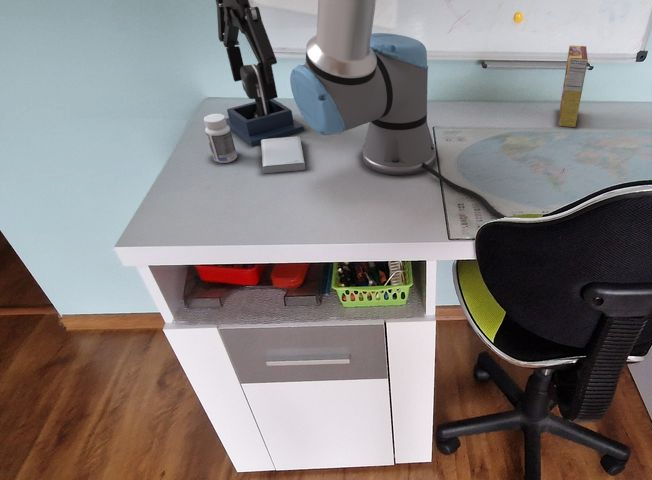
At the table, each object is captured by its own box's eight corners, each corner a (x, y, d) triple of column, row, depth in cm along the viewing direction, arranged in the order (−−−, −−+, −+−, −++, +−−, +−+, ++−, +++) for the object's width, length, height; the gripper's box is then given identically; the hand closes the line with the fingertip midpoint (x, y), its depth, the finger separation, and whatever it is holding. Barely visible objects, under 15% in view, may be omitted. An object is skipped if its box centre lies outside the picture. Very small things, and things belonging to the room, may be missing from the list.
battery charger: (249, 116, 123) (236, 63, 115) (265, 114, 124) (254, 61, 116) (255, 129, 119) (243, 74, 111) (272, 126, 120) (261, 72, 112)
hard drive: (304, 162, 108) (299, 135, 116) (262, 166, 106) (260, 138, 115) (305, 170, 109) (300, 142, 118) (264, 174, 108) (262, 146, 116)
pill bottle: (242, 155, 113) (232, 115, 107) (228, 165, 109) (217, 124, 103) (222, 151, 114) (211, 110, 108) (208, 160, 110) (196, 120, 104)
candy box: (557, 111, 135) (569, 44, 124) (574, 112, 135) (588, 45, 124) (557, 126, 129) (569, 56, 118) (575, 127, 128) (589, 58, 117)
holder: (304, 130, 122) (301, 112, 119) (251, 146, 116) (247, 127, 113) (273, 110, 129) (269, 93, 126) (221, 124, 123) (217, 106, 120)
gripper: (281, -19, 97) (301, 102, 112) (218, -43, 109) (243, 69, 124) (242, -14, 93) (268, 111, 108) (182, -39, 105) (212, 76, 121)
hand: (255, 89), depth 116 cm, fingers open, 13 cm apart
